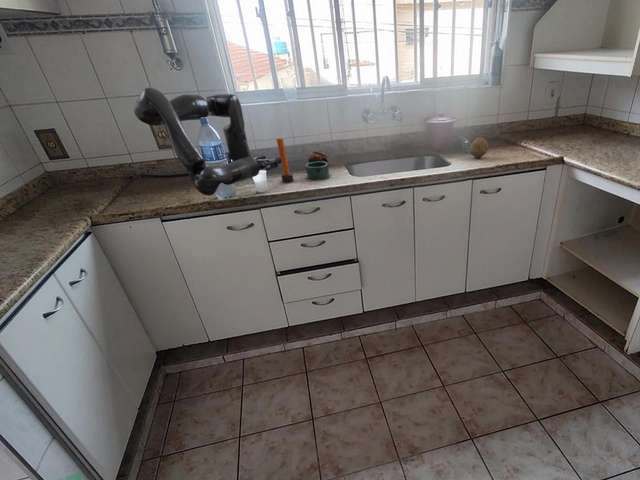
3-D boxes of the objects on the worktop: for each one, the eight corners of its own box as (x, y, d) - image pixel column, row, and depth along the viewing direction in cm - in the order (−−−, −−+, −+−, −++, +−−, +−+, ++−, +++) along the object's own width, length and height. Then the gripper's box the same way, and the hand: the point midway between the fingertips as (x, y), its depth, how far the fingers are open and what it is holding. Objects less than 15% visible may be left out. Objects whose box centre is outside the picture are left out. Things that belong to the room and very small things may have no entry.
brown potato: (488, 160, 189) (490, 139, 183) (470, 161, 189) (472, 139, 184) (485, 156, 197) (487, 135, 191) (468, 156, 197) (469, 135, 191)
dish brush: (280, 182, 169) (271, 139, 159) (284, 179, 173) (276, 137, 163) (291, 182, 168) (282, 139, 158) (295, 179, 172) (287, 137, 162)
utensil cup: (304, 179, 172) (302, 167, 168) (311, 173, 180) (309, 161, 176) (325, 180, 170) (324, 167, 167) (332, 173, 178) (330, 161, 175)
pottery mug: (305, 167, 191) (309, 150, 190) (323, 173, 195) (327, 157, 194) (309, 166, 180) (314, 148, 179) (328, 173, 185) (333, 156, 183)
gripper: (233, 177, 153) (262, 166, 165) (259, 181, 148) (287, 169, 159) (227, 157, 149) (258, 148, 161) (254, 161, 143) (284, 151, 155)
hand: (272, 159), depth 160 cm, fingers open, 8 cm apart
